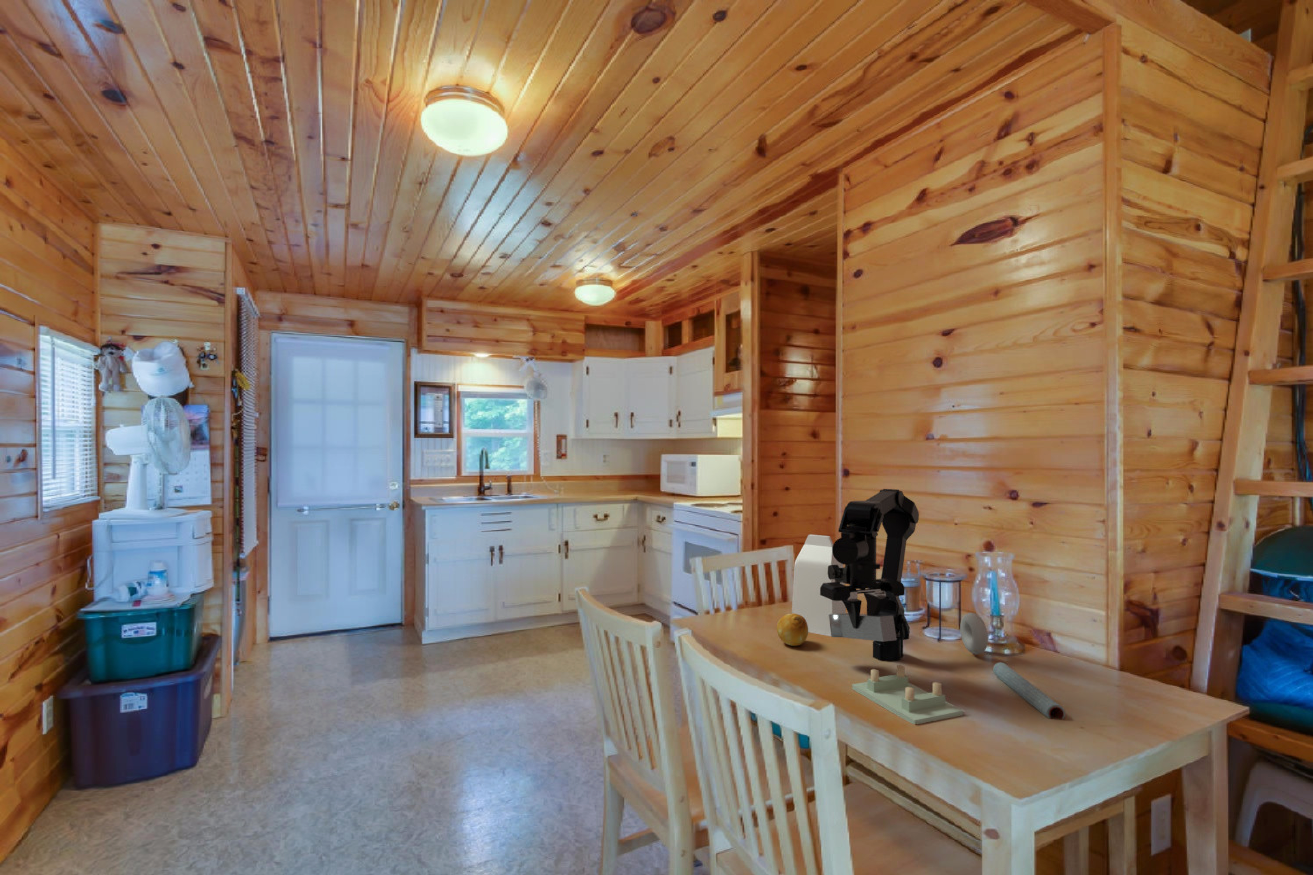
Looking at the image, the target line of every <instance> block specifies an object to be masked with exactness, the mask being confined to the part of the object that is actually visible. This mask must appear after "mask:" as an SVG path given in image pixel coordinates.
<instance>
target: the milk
mask: <svg viewBox="0 0 1313 875" xmlns="http://www.w3.org/2000/svg"><path fill="white" fill-rule="evenodd" d="M833 544H834V542H833V540H832V537H831V536H829V535H820V534H808V535H807V537H806V539H805V542H804V544H803V546H802V547H801V550H800V552H799V553H798V555H797V557H796V558H795V561H794V566H793V584H792V585H793V586H792V601H791V602H792V603H791V613H794V614H798V615H801V616H802V617H804V618H805V620H806V622H807V625H808V633H810V634H817V635H822V636H827V637H831V630H830V621H829V614H836V613H847V611H846V610H847V609H846V607H845V605H844V603H843V602H842V601H833V600H831V599H828V598H826V597H824V596H821V595H820V587H821V585H822V584H823V583H830V582H835V579H832V580H830V579H829V578H828V566H830V565H838V566H839V568H844V564H841V563H839V562H838V561H837V560H836V559H835V558H834V556H833V553H832V547H833ZM840 584H843V585H845V583H840Z"/></svg>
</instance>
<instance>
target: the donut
mask: <svg viewBox="0 0 1313 875" xmlns="http://www.w3.org/2000/svg"><path fill="white" fill-rule="evenodd" d="M985 624H986V623H985V622H984V620H983V618H982V617H981V616H979V615H978V614H977V613H974V612H967V613H965V614H964V615H963V616H962V618H961V619H960V627H959V628H960V631H959V632H960V636H961V640H962V643H963V646H965V649H966V650H967V651H968V652H969V653H972V654H973V655H981V654H983V653H984V652H985V650H987V647H988V642H989V639H988V638H989V637H988V631H987V629H988V628H987V627H986V625H985Z"/></svg>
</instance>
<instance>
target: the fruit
mask: <svg viewBox="0 0 1313 875" xmlns="http://www.w3.org/2000/svg"><path fill="white" fill-rule="evenodd" d="M776 633H777V635H778V637H779V639H780V640H781V641H782V642H783V643H784V644H785V645H788V646H791V647H799V646H801V645H802V644H803V643H804V642H805V641H806V640H807V637H808V635H809V632H808V625H807V622H806V620H805V618H804V617H802V616H801V615H798V614H794V613H792V612H791V613H787V614H785V615H783V616H782V617H781V618H780V619H779V620H778V622H777V625H776Z"/></svg>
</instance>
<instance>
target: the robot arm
mask: <svg viewBox="0 0 1313 875" xmlns="http://www.w3.org/2000/svg"><path fill="white" fill-rule="evenodd" d="M919 519H920V512H919V510H918V508H917V505H916V504H915V502H914V501H913V500H911V499H910V498H908V497H907V496H905V494H904V492H903V490H900V489H895V488H883V489H880V490H879V492H877V493H876V494H874V495H872V496H870V497H869V498H867V499H866V500H851V501H849V502H848V503H847V505H846V506H845V507H844V510H843V514H842V517H841V520H840V522H839V528H838V533H840V537H839V538H838V539H836V540H835V541H834V542H833V547H832V553H833V556H834V558H835V559H836V560H837V561H838V562H839V563H841V564H843V565H844V566H843V568H839V566H838V565H830V566H828V578H829V579H830V580H832V579H835V582H830V583H823V584H822V585H821V587H820V595H821V596H824V597H826V598H828V599H831V600H833V601H842V602H843V603H844V605H845V607H846V610H847V611H846V612H847V613H848V614H849V617H850V620H851V623H852V626H853V628H855V629H857V628H858V624H859V618H860V614H861V610H862V609H861V608H862V601H863V600H861V599H859V598H858V595H859V594H863V596H864V598H865V600H866V614H871V615H893V618H894V625H895V632H896V639H897V640H893V641H884V642H883V641H873V640H872V658H873V659H876V660H878V661H880V662H884V661H887V662H897V661H901V659H903V658H904V641H905V640H910V633H911V632H910V631H911V629H910V625H909V623H908V620H907V619H906V616H905V610H906V609H905V608H904V605H903V603H902V601H901V598H900V597H901V596H906V595H905V594H906V593H905V590H906V589H905V588H906V587H905V585H904V584H903V582H902V578H903V571H904V564H905V556H906V555H905V554H906V546H907V540H908V539H910V538H911V536H912V535H913V534H914V532H916V525H917V524H918V522H919ZM881 526H882V528H883V529H884V532H885V533H886V541H885V547H884V548H885V549H884V555H883V562H882V569H881V564H880V563H877V537H878V536H879V532H880V529H881ZM877 570H881V575H880V578H877ZM840 583H844V585H843V584H840ZM845 584H846V585H845Z"/></svg>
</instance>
